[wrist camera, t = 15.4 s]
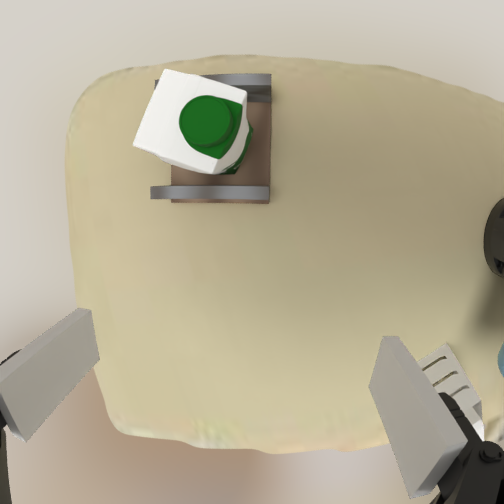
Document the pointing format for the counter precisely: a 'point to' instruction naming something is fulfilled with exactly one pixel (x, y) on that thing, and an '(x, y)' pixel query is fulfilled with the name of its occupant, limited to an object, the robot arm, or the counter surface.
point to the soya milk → (196, 124)
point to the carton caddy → (252, 166)
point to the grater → (454, 384)
